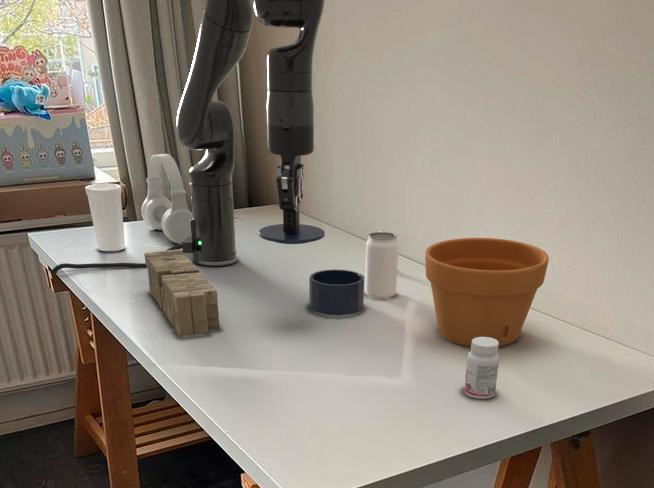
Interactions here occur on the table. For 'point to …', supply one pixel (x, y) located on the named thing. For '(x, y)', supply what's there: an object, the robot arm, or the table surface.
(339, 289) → the pot
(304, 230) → the lid
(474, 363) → the pill bottle
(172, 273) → the block tower
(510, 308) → the flower pot
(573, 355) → the table surface
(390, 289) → the can
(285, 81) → the robot arm
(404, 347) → the table surface
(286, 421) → the table surface
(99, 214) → the cup
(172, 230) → the headphones
